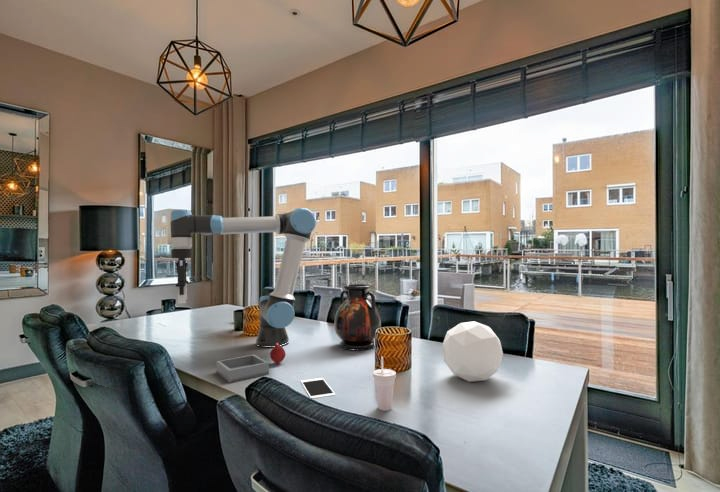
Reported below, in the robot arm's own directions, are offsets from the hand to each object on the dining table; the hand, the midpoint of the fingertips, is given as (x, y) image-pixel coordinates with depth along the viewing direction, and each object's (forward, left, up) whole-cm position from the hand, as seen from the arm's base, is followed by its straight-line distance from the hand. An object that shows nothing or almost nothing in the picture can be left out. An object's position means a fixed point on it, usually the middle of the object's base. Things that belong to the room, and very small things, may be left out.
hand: (182, 301), depth 145 cm
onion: (-36, +15, -25) cm, 46 cm away
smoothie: (-61, +66, -25) cm, 93 cm away
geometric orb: (-97, +54, -25) cm, 113 cm away
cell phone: (-46, +45, -25) cm, 69 cm away
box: (-23, +22, -24) cm, 40 cm away
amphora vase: (-73, 0, -25) cm, 77 cm away
